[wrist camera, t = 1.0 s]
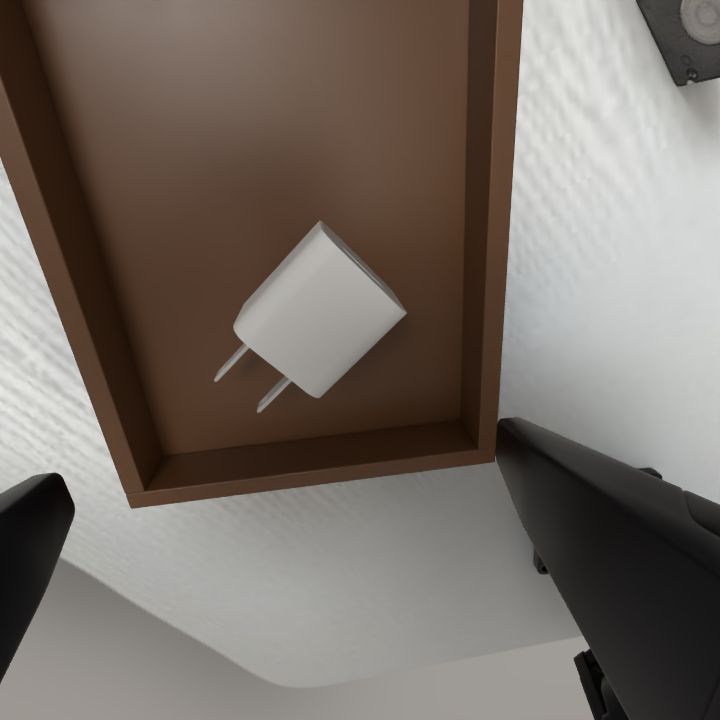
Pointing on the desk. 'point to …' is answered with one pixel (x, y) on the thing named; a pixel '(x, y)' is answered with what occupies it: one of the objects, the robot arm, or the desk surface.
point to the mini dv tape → (686, 37)
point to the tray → (267, 221)
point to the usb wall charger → (315, 315)
